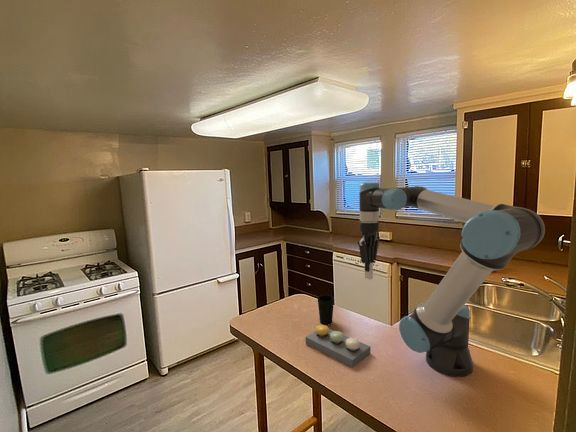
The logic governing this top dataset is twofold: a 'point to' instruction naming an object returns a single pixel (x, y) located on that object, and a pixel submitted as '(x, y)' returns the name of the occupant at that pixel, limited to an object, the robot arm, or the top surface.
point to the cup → (325, 308)
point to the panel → (338, 349)
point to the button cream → (352, 344)
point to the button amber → (322, 330)
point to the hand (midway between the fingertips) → (368, 278)
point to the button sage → (336, 337)
